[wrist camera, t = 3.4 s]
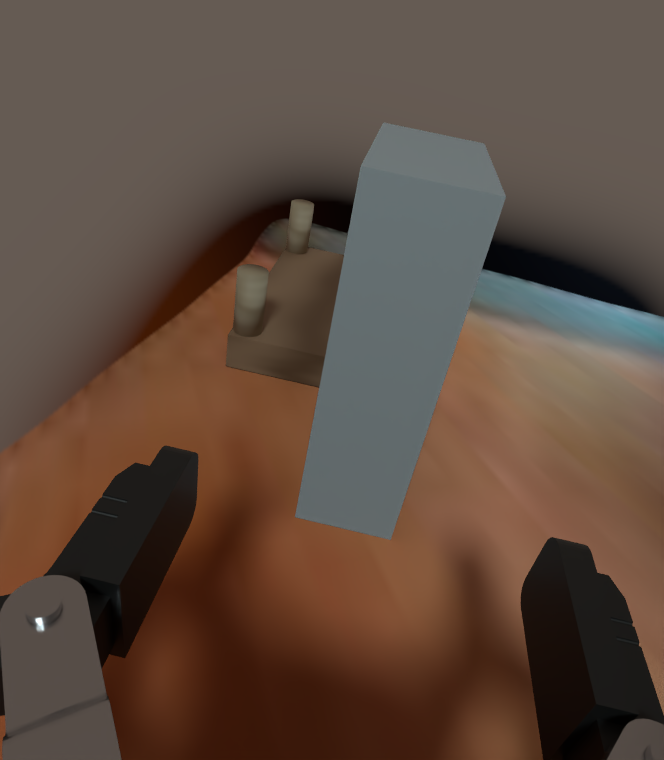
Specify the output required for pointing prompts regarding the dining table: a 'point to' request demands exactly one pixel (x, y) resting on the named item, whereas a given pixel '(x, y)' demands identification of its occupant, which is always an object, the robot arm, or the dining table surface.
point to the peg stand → (286, 308)
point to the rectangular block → (396, 321)
